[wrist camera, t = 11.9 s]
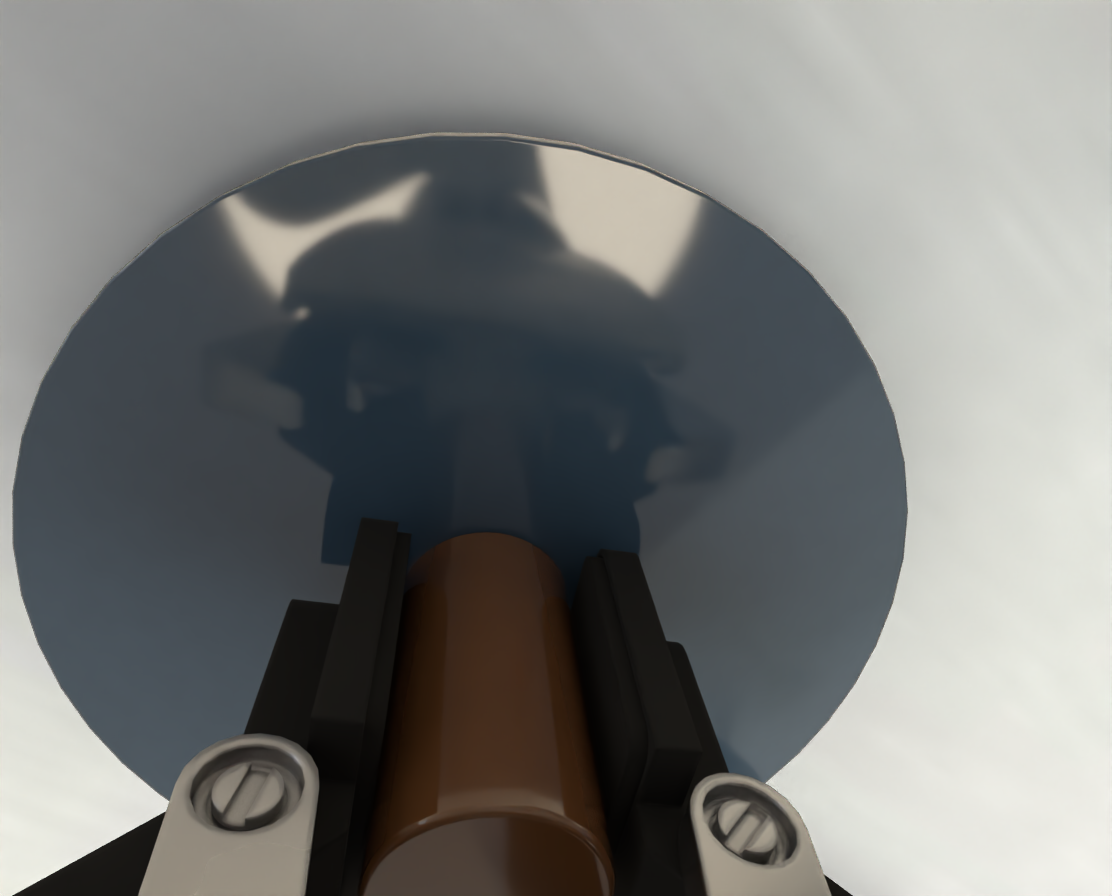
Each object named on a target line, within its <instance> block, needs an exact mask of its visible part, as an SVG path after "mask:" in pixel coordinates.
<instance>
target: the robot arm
mask: <svg viewBox="0 0 1112 896" xmlns="http://www.w3.org/2000/svg"><path fill="white" fill-rule="evenodd" d="M398 524H399V522H395V521H387V520H380V519H372V518H364V517H362V518H361V522H360V526H359V529H358V533H357V537H356V541H355V545H354V549H353V553H352V557H351V561H350V565H349V569H348V573H347V576H346V580H345V584H344V588H343V592H342V596H341V600H340V604H332V603H323V602H314V601H305V600H296V599H292V600H291V601H290V603H289V606H288V608H287V611H286V614H285V617H284V619H283V622H282V625H281V628H280V631H279V634H278V637H277V640H276V642H275V645H274V648H273V651H272V654H271V657H270V660H269V662H268V665H267V668H266V671H265V674H264V677H263V680H262V682H261V685H260V688H259V691H258V694H257V697H256V700H255V703H254V705H253V708H252V711H251V714H250V717H249V720H248V723H247V725H246V728H245V731H244V734H243V735H238V736H234V737H231V738H228V739H224V740H221V741H218V742H216V743H215V744H213V745H211V746H209V747H208V748H206V749H204V750H202V751H201V752H199V753H198V754H197V755H196V756H195V757H194V758H193V759H192V760H191V761H190V762H189V763H188V764H187V765H186V766H185V767H184V769H183V771H182V772H181V774H180V776H179V778H178V780H177V782H176V783H175V786H174V789H173V792H172V795H171V798H170V801H169V804H168V807H167V810H166V812H164V813H162V814H160V815H159V816H157V817H155V818H153V819H151V820H149V821H148V822H146V823H144V824H142V825H140V826H139V827H137V828H135V829H133V830H131V831H129V832H128V833H126V834H124V835H122V836H120V837H118V838H117V839H115V840H113V841H111V842H109V843H108V844H106V845H104V846H102V847H100V848H98V849H97V850H95V851H93V852H91V853H89V854H87V855H86V856H84V857H82V858H80V859H78V860H77V861H75V862H73V863H71V864H69V865H67V866H66V867H64V868H62V869H60V870H58V871H56V872H55V873H53V874H51V875H49V876H47V877H46V878H44V879H42V880H40V881H38V882H36V883H35V884H33V885H31V886H29V887H27V888H26V889H24V890H22V891H20V892H18V893H16V894H15V895H13V896H358V883H359V876H360V869H361V863H362V856H363V849H364V842H365V835H366V829H367V825H368V821H369V818H370V815H371V812H372V806H373V799H374V793H375V787H376V780H377V774H378V767H379V761H380V755H381V748H382V742H383V735H384V729H385V722H386V715H387V708H388V701H389V694H390V687H391V680H392V672H393V665H394V658H395V651H396V643H397V636H398V629H399V622H400V615H401V607H402V600H403V593H404V586H405V578H406V571H407V564H408V557H409V550H410V542H411V535H412V533H404V532H397V531H398ZM571 617H572V623H573V629H574V635H575V640H576V646H577V652H578V658H579V664H580V669H581V675H582V681H583V687H584V692H585V698H586V704H587V710H588V716H589V721H590V727H591V733H592V739H593V744H594V750H595V756H596V762H597V767H598V773H599V779H600V785H601V791H602V796H603V802H604V808H605V814H606V819H607V825H608V831H609V837H610V842H611V848H612V854H613V860H614V866H615V873H616V889H615V893H614V896H852V895H851V894H850V893H848V892H847V891H846V890H844V889H843V888H842V887H840V886H839V885H838V884H836V883H835V882H833V881H832V880H831V879H829V878H828V877H827V876H825V875H824V874H823V871H822V868H821V865H820V863H819V860H818V857H817V854H816V852H815V849H814V846H813V844H812V841H811V838H810V835H809V833H808V830H807V828H806V826H805V824H804V822H803V820H802V818H801V816H800V815H799V813H798V812H797V810H796V809H795V808H794V807H793V806H792V805H791V804H790V802H789V801H788V800H787V799H786V798H785V797H784V796H782V795H781V794H780V793H778V792H777V791H776V790H774V789H773V788H772V787H771V786H769V785H767V784H765V783H763V782H761V781H759V780H757V779H755V778H752V777H749V776H745V775H741V774H737V773H729V771H728V768H727V765H726V762H725V759H724V757H723V754H722V751H721V748H720V745H719V743H718V740H717V737H716V734H715V731H714V729H713V726H712V723H711V720H710V717H709V715H708V712H707V709H706V706H705V703H704V701H703V698H702V695H701V692H700V689H699V687H698V684H697V681H696V678H695V675H694V673H693V670H692V667H691V664H690V661H689V659H688V656H687V653H686V651H685V649H684V647H683V645H681V644H680V643H679V642H671V641H666V638H665V635H664V632H663V629H662V626H661V623H660V620H659V617H658V614H657V611H656V608H655V605H654V602H653V599H652V596H651V593H650V590H649V587H648V584H647V581H646V578H645V575H644V572H643V569H642V566H641V562H640V559H639V557H638V555H637V554H636V553H632V552H624V551H617V550H609V549H600V550H599V552H598V554H597V557H591V556H587V557H586V558H585V560H584V563H583V566H582V570H581V574H580V578H579V582H578V585H577V589H576V593H575V597H574V600H573V604H572V608H571Z"/></svg>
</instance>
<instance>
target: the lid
mask: <svg viewBox="0 0 1112 896" xmlns="http://www.w3.org/2000/svg"><path fill="white" fill-rule="evenodd" d="M12 495H13V550H14V556H15V561H16V567H17V573H18V579H19V585H20V591H21V596H22V599H23V602H24V605H25V608H26V611H27V614H28V617H29V620H30V623H31V625H32V628H33V631H34V634H35V637H36V640H37V643H38V645H39V647H40V649H41V651H42V653H43V655H44V657H45V659H46V661H47V663H48V664H49V666H50V668H51V670H52V672H53V674H54V676H55V678H56V680H57V682H58V684H59V686H60V688H61V689H62V690H63V692H64V693H65V695H66V696H67V697H68V699H69V700H70V702H71V703H72V704H73V706H74V707H75V709H76V710H77V711H78V713H79V714H80V716H81V717H82V718H83V720H84V721H85V723H86V724H87V725H88V727H89V728H90V729H91V730H92V731H93V733H94V734H95V735H96V736H97V737H98V738H99V739H100V740H101V741H102V742H103V743H104V744H105V745H106V746H107V748H108V749H109V750H110V751H111V752H112V753H113V754H114V755H115V756H116V757H117V758H118V759H119V760H120V761H121V762H122V764H124V765H125V766H126V767H127V768H128V769H130V770H131V771H132V772H133V773H134V774H136V775H137V776H138V777H139V778H140V779H141V780H143V781H144V782H145V783H146V784H147V785H149V786H150V787H151V788H152V789H153V790H155V791H156V792H157V793H158V794H159V795H161V796H162V797H164V798H165V799H167V800H168V801H170V798H171V795H172V792H173V789H174V786H175V783H176V782H177V780H178V778H179V776H180V774H181V772H182V771H183V769H184V767H185V766H186V765H187V764H188V763H189V762H190V761H191V760H192V759H193V758H194V757H195V756H196V755H197V754H198V753H199V752H201V751H202V750H204V749H206V748H208V747H209V746H211V745H213V744H215V743H216V742H218V741H221V740H224V739H228V738H231V737H234V736H238V735H243V734H244V731H245V728H246V725H247V723H248V720H249V717H250V714H251V711H252V708H253V705H254V703H255V700H256V697H257V694H258V691H259V688H260V685H261V682H262V680H263V677H264V674H265V671H266V668H267V665H268V662H269V660H270V657H271V654H272V651H273V648H274V645H275V642H276V640H277V637H278V634H279V631H280V628H281V625H282V622H283V619H284V617H285V614H286V611H287V608H288V606H289V603H290V601H291V600H292V599H296V600H305V601H314V602H323V603H332V604H340V600H341V596H342V592H343V588H344V584H345V580H346V576H347V573H348V569H349V565H350V561H351V557H352V553H353V549H354V545H355V541H356V537H357V533H358V529H359V526H360V522H361V518H362V517H364V518H372V519H380V520H387V521H395V522H399V524H398V531H397V532H404V533H412V535H411V542H410V550H409V557H408V564H407V571H406V578H405V586H404V593H403V600H402V607H401V615H400V622H399V629H398V636H397V643H396V651H395V658H394V665H393V672H392V680H391V687H390V694H389V701H388V708H387V715H386V722H385V729H384V735H383V742H382V748H381V755H380V761H379V767H378V774H377V780H376V787H375V793H374V799H373V806H372V812H371V815H370V818H369V821H368V825H367V829H366V835H365V842H364V849H363V856H362V863H361V869H360V876H359V883H358V896H614V893H615V889H616V873H615V866H614V860H613V854H612V848H611V842H610V837H609V831H608V825H607V819H606V814H605V808H604V802H603V796H602V791H601V785H600V779H599V773H598V767H597V762H596V756H595V750H594V744H593V739H592V733H591V727H590V721H589V716H588V710H587V704H586V698H585V692H584V687H583V681H582V675H581V669H580V664H579V658H578V652H577V646H576V640H575V635H574V629H573V623H572V617H571V608H572V604H573V600H574V597H575V593H576V589H577V585H578V582H579V578H580V574H581V570H582V566H583V563H584V560H585V558H586V557H587V556H591V557H597V554H598V552H599V550H600V549H609V550H617V551H624V552H632V553H636V554H637V555H638V557H639V559H640V562H641V566H642V569H643V572H644V575H645V578H646V581H647V584H648V587H649V590H650V593H651V596H652V599H653V602H654V605H655V608H656V611H657V614H658V617H659V620H660V623H661V626H662V629H663V632H664V635H665V638H666V641H671V642H679V643H680V644H681V645H683V647H684V649H685V651H686V653H687V656H688V659H689V661H690V664H691V667H692V670H693V673H694V675H695V678H696V681H697V684H698V687H699V689H700V692H701V695H702V698H703V701H704V703H705V706H706V709H707V712H708V715H709V717H710V720H711V723H712V726H713V729H714V731H715V734H716V737H717V740H718V743H719V745H720V748H721V751H722V754H723V757H724V759H725V762H726V765H727V768H728V771H729V773H737V774H741V775H745V776H749V777H752V778H755V779H757V780H759V781H761V782H763V783H766V782H767V781H768V780H769V779H771V778H772V777H773V776H774V775H775V774H776V773H777V772H778V771H780V770H781V769H782V768H783V767H784V766H785V765H786V764H788V763H789V762H790V761H791V760H792V759H793V758H794V757H795V756H797V755H798V754H799V753H800V752H801V751H802V749H803V748H804V747H805V746H806V745H807V744H808V743H809V742H810V741H811V740H812V738H813V737H814V736H815V735H816V734H817V733H818V732H819V731H820V730H821V729H822V728H823V726H824V725H825V724H826V723H827V722H828V721H829V720H830V718H831V717H832V715H833V714H834V713H835V711H836V710H837V708H838V707H839V706H840V704H841V703H842V702H843V700H844V699H845V697H846V696H847V695H848V693H849V692H850V690H851V689H852V688H853V686H854V685H855V683H856V681H857V680H858V678H859V676H860V674H861V672H862V670H863V669H864V667H865V665H866V663H867V661H868V659H869V658H870V656H871V654H872V652H873V650H874V649H875V647H876V645H877V642H878V640H879V637H880V635H881V632H882V629H883V627H884V624H885V622H886V619H887V617H888V614H889V611H890V609H891V606H892V604H893V600H894V596H895V592H896V588H897V583H898V579H899V575H900V571H901V567H902V562H903V558H904V547H905V536H906V525H907V514H908V508H907V492H906V476H905V462H904V457H903V452H902V448H901V443H900V439H899V434H898V430H897V425H896V421H895V416H894V412H893V410H892V407H891V404H890V402H889V399H888V397H887V394H886V392H885V389H884V387H883V384H882V382H881V379H880V377H879V374H878V372H877V369H876V366H875V364H874V362H873V360H872V359H871V357H870V355H869V354H868V352H867V350H866V349H865V347H864V345H863V344H862V342H861V340H860V338H859V337H858V335H857V333H856V332H855V330H854V328H853V327H852V325H851V323H850V322H849V320H848V318H847V316H846V315H845V314H844V313H843V312H842V310H841V309H840V308H839V307H838V305H837V304H836V303H835V302H834V301H833V299H832V298H831V297H830V296H829V295H828V293H827V292H826V291H825V290H824V289H823V287H822V286H821V285H820V284H819V283H818V281H817V280H816V279H815V278H814V276H813V275H812V274H811V273H810V272H809V271H808V270H807V269H806V268H805V267H804V266H803V265H802V264H801V263H799V262H798V261H797V260H796V259H795V258H794V257H793V256H791V255H790V254H789V253H788V252H787V251H786V250H785V249H784V248H782V247H781V246H780V245H779V244H778V243H777V242H776V241H775V240H773V239H772V238H771V237H770V236H769V235H768V234H767V233H766V232H764V231H763V230H762V229H760V228H759V227H757V226H756V225H754V224H753V223H751V222H750V221H748V220H746V219H745V218H743V217H742V216H740V215H739V214H737V213H736V212H734V211H733V210H731V209H730V208H728V207H726V206H725V205H723V204H722V203H720V202H719V201H717V200H716V199H714V198H713V197H711V196H709V195H708V194H706V193H704V192H702V191H701V190H699V189H697V188H694V187H692V186H690V185H688V184H686V183H683V182H681V181H679V180H677V179H675V178H673V177H670V176H668V175H666V174H664V173H662V172H659V171H657V170H655V169H653V168H651V167H648V166H646V165H644V164H642V163H640V162H637V161H633V160H630V159H627V158H623V157H620V156H616V155H613V154H610V153H606V152H603V151H599V150H596V149H593V148H589V147H586V146H582V145H579V144H576V143H571V142H564V141H557V140H550V139H543V138H536V137H530V136H523V135H516V134H509V133H450V132H433V133H425V134H418V135H411V136H403V137H396V138H388V139H381V140H374V141H366V142H361V143H357V144H354V145H350V146H347V147H343V148H340V149H336V150H333V151H329V152H326V153H322V154H319V155H315V156H312V157H308V158H305V159H301V160H298V161H294V162H292V163H290V164H288V165H285V166H283V167H281V168H279V169H276V170H274V171H272V172H270V173H268V174H265V175H263V176H261V177H259V178H256V179H254V180H252V181H250V182H248V183H245V184H243V185H241V186H239V187H236V188H234V189H232V190H230V191H228V192H226V193H224V194H222V195H220V196H218V197H217V198H215V199H214V200H212V201H211V202H209V203H208V204H206V205H204V206H203V207H201V208H200V209H198V210H197V211H195V212H194V213H192V214H190V215H189V216H187V217H186V218H184V219H183V220H181V221H180V222H178V223H176V224H175V225H173V226H172V227H170V228H169V229H167V230H166V231H164V232H163V233H161V234H160V235H159V236H158V237H157V238H156V239H154V240H153V241H152V242H151V243H150V244H149V245H148V246H147V247H145V248H144V249H143V250H142V251H141V252H140V253H139V254H138V255H136V256H135V257H134V258H133V259H132V260H131V261H130V262H129V263H127V264H126V265H125V266H124V267H123V268H122V269H121V270H120V271H119V272H117V273H116V274H115V275H114V276H113V277H112V278H111V279H110V280H109V281H108V283H107V284H106V285H105V286H104V288H103V289H102V290H101V291H100V293H99V294H98V295H97V296H96V298H95V299H94V300H93V301H92V302H91V304H90V305H89V306H88V307H87V309H86V310H85V311H84V312H83V314H82V315H81V316H80V317H79V319H78V320H77V321H76V322H75V323H74V325H73V326H72V327H71V329H70V331H69V332H68V334H67V336H66V338H65V339H64V341H63V343H62V345H61V347H60V348H59V350H58V352H57V354H56V355H55V357H54V359H53V361H52V363H51V364H50V366H49V368H48V370H47V371H46V373H45V375H44V377H43V379H42V380H41V383H40V386H39V389H38V391H37V394H36V397H35V400H34V403H33V406H32V408H31V411H30V414H29V417H28V420H27V422H26V425H25V428H24V431H23V434H22V438H21V444H20V450H19V456H18V461H17V467H16V473H15V479H14V485H13V491H12Z"/></svg>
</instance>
